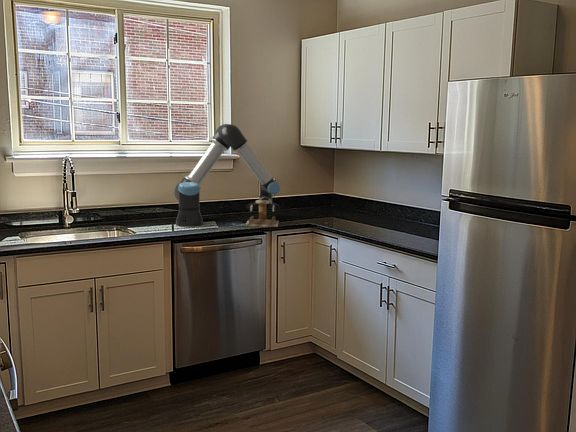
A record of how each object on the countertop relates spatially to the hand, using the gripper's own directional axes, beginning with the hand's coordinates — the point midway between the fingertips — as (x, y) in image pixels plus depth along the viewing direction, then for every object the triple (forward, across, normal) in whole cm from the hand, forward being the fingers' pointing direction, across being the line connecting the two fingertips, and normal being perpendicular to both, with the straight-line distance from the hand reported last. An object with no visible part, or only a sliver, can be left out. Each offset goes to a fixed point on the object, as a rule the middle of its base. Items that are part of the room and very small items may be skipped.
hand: (262, 209), depth 335 cm
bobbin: (-4, 0, -8) cm, 9 cm away
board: (-4, 0, -9) cm, 10 cm away
